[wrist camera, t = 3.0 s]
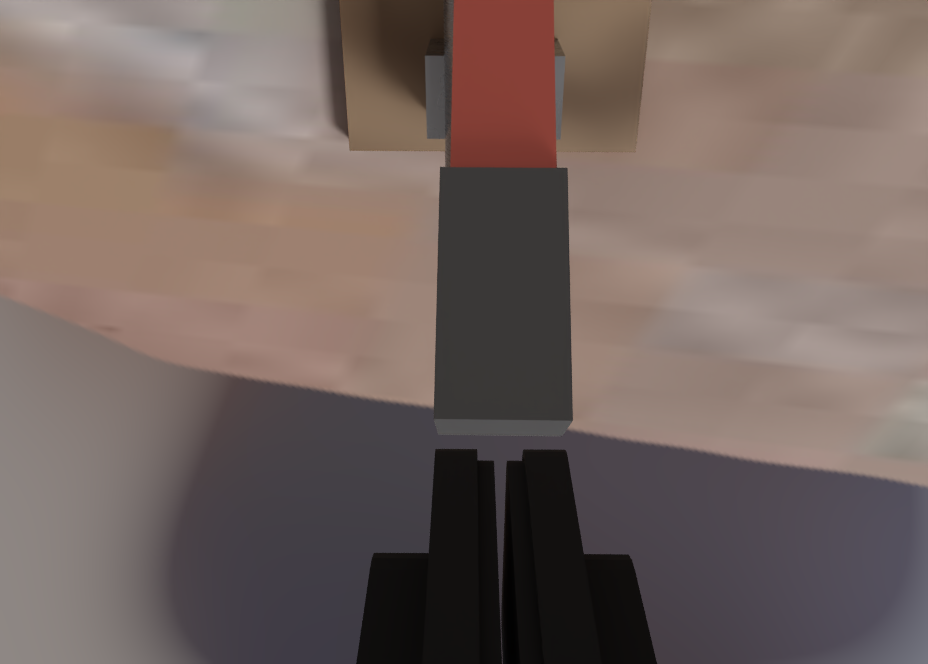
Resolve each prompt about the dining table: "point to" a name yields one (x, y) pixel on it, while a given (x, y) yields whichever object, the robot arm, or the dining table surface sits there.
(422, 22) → the mount board
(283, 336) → the dining table surface
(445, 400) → the lever
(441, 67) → the valve
